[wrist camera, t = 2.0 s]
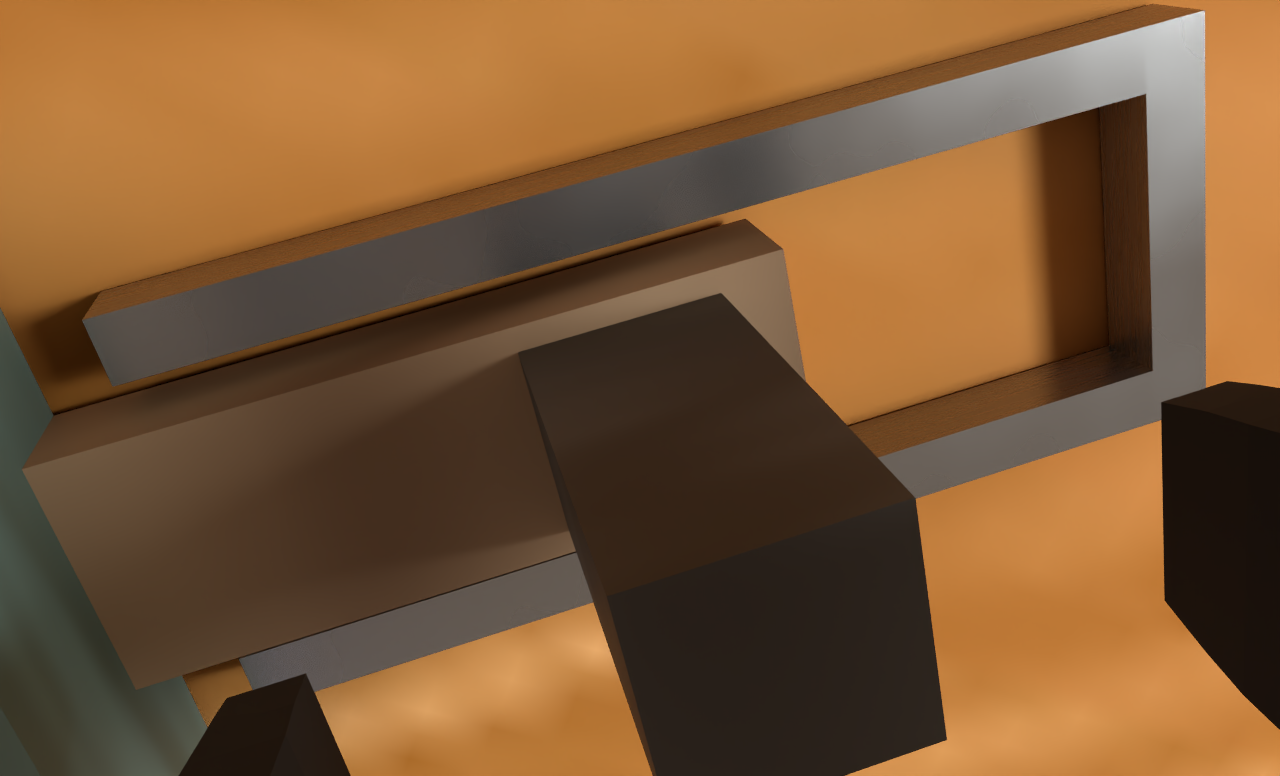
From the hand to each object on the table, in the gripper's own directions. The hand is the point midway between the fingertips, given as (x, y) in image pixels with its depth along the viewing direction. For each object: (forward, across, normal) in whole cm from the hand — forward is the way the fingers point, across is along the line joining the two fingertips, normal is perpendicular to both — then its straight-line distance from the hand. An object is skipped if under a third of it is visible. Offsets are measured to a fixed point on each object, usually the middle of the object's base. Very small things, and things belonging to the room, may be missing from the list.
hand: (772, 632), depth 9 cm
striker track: (+6, -1, 0) cm, 6 cm away
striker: (+6, +3, 0) cm, 7 cm away
